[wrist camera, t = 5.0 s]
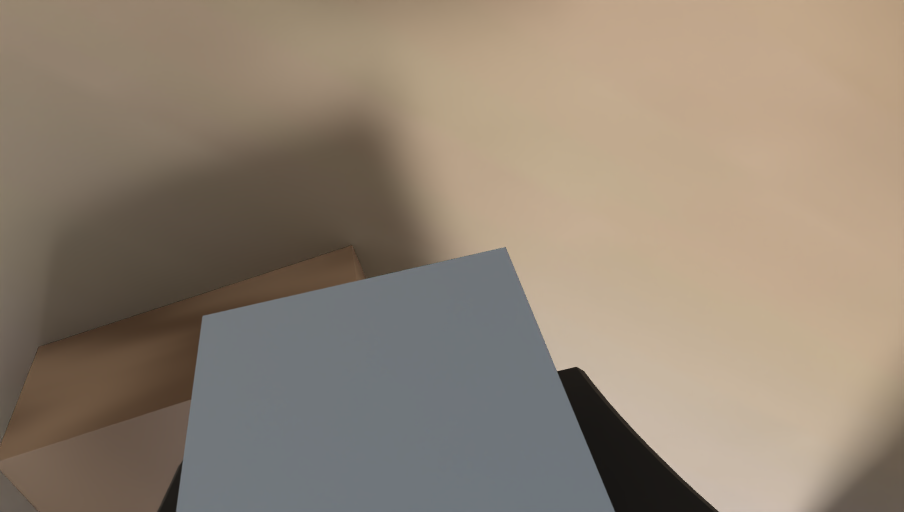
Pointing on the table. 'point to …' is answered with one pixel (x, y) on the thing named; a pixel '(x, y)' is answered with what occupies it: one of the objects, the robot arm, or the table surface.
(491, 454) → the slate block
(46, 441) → the walnut block
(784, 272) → the table surface
